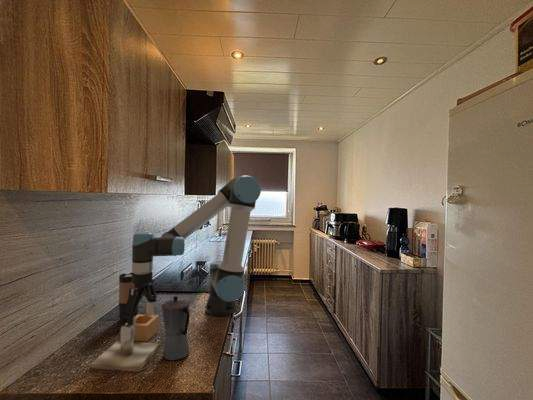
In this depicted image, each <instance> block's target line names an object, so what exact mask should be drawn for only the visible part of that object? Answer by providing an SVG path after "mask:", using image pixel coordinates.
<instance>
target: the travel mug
mask: <svg viewBox="0 0 533 400" xmlns="http://www.w3.org/2000/svg"><path fill="white" fill-rule="evenodd" d="M132 273H133V272H132V271H131V272H130V273H122V274H121V273H120V274H119V276H118V278H119V279H118V282H119V283H118V293H119V294H118V303H119V304H118V310H119V311H118V312H119V314H118V315H119V322H120V323H121V324H126V323H127V318H125V317H123V315H124V312H125V308H126V304H127V300H128V297H129V290H130V289H134V287H135V284H134V283H132ZM138 312H139V306H138V307H137V310H136V312H135V315H134V316H136V315H138V314H139V313H138Z"/></svg>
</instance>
